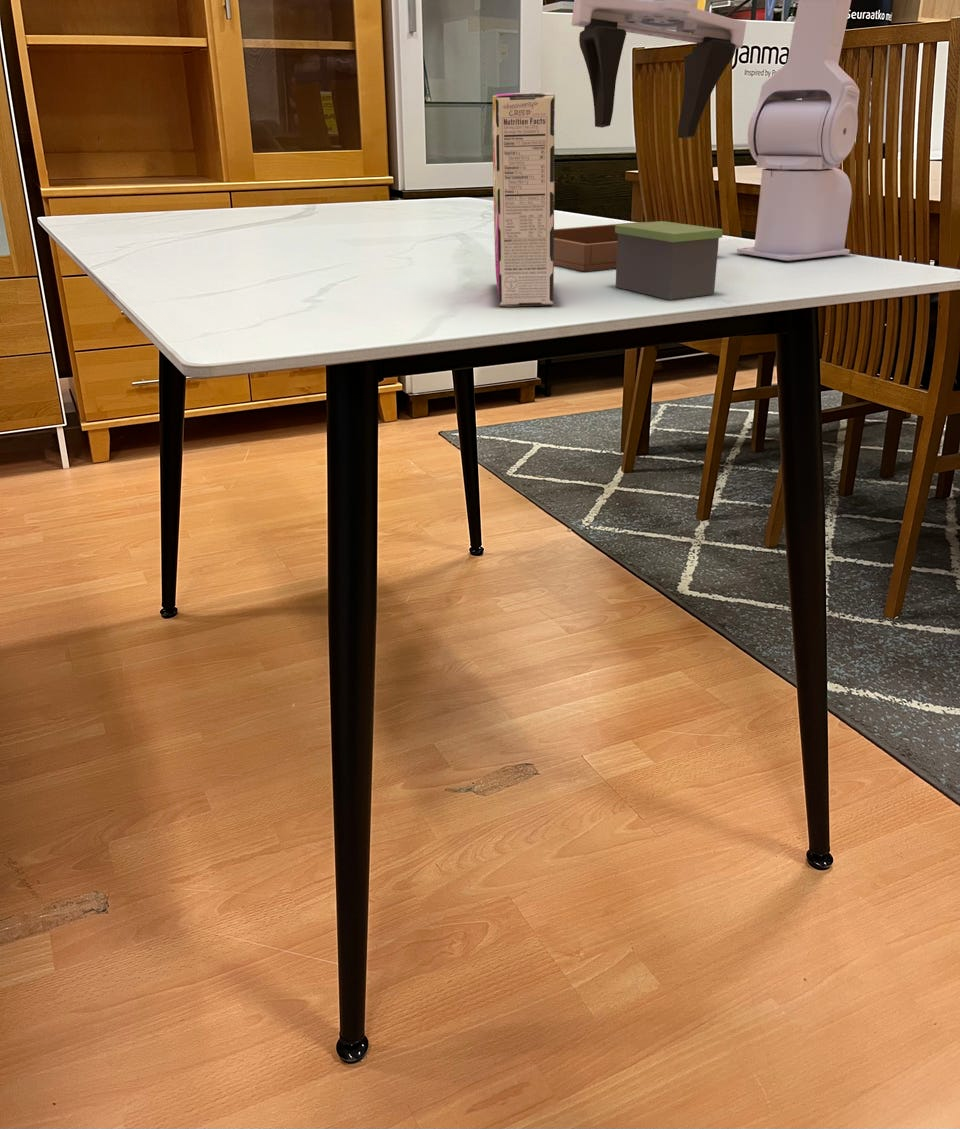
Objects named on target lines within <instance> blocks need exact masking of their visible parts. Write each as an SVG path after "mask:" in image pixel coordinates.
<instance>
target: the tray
mask: <svg viewBox="0 0 960 1129" xmlns="http://www.w3.org/2000/svg"><path fill="white" fill-rule="evenodd" d="M645 222H646V221H637V222H626V223H625V222H624V223H613V224H602V225H601V224H600V225H589V226H577V227H564V228H554V266H558V267H560V268H561V267H562V268H566V269H571V270H576V271H579V272H582V273H583V272H584V273H585V272H593V271H604V270H613V269H616V265H617V241H618V233H615V225H621V224H633V223H645Z"/></svg>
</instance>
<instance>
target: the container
mask: <svg viewBox="0 0 960 1129" xmlns="http://www.w3.org/2000/svg"><path fill="white" fill-rule="evenodd" d="M644 222H645V223H635V222H632V223H633V224H623V223H620V224H621V225H615V233H618V241H617V265H616V268H615V288H618V289H623V290H627V291H631V292H634V293H639V294H643V295H646V296H647V295H648V296H652V297H655V298H660V299H664V300H667V301H673V300H681V299H688V298H695V297H703V296H710V295H715V288H716V276H717V264H718V253H719V242H720V239H721V238H723V232H724V230H723V228H717V227H709V226H701V225H695V224H694V225H693V224H688V223H687V224H686V223H681V222H680V223H679V222H673V221H672V222H671V221H664V220H659V221H644Z"/></svg>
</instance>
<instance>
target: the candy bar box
mask: <svg viewBox="0 0 960 1129" xmlns="http://www.w3.org/2000/svg"><path fill="white" fill-rule="evenodd" d="M555 105H556V94H555V93H553V92H508V93H506V92H505V93H498V94H494V95H492V184H493V186H492V188H493V190H492V191H493V227H494V228H493V229H494V264H495V265H494V266H495V268H494V269H495V280H496V289H497V296H498V303H499V304H498V305H499V306H500V307H511V308H513V307H514V308H515V307H541V306H542V307H543V306H553V305H554V286H555V285H554V282H555V280H554V278H555V276H554V274H555V273H554V272H555V271H554V269H555V265H554V229H555V115H556V114H555V113H556V112H555V111H556V110H555V108H556V107H555Z"/></svg>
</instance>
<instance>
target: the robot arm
mask: <svg viewBox="0 0 960 1129" xmlns="http://www.w3.org/2000/svg"><path fill="white" fill-rule="evenodd" d="M698 3H699V0H574V1H573V9H572V16H571V26H572V27H577V28H578V27H579V28H583V30H582V31H580V32H579V35H578V36H579V37H578V42H579V48H580V50H581V51H580V52H581V53H582V55H583V59H584V62H585V65H586V70H587V73H588V77H589V82H590V86H591V94H592V101H593V113H594V128H595V127H596V128H606V127H610V126H611V123H612V119H613V115H614V114H613V113H614V105H615V95H616V84H617V78H618V72H619V67H620V61H621V57H622V53H623V50H624V44H625V42H626V38H627V33H631V34H636V35H644V36H649V37H655V38H663V39H668V40H674V41H681V42H687V43H693V44H696V46H692V51H690V52H689V53H686V54H685V55H684V56H683V63H684V69H683V70H684V71H683V72H684V74H683V76H684V78H683V94H682V102H681V108H680V113H679V119H678V126H677V138H678V139H691V138H695V136H696V133H697V129H698V126H699V124H700V121H701V118H702V116H703V113H704V111H705V108H706V106H707V103H708V101H709V99H710V97H711V95H712V93H713V91H714V89H715V87H716V85H717V84H718V82H719V80H720V78H721V76H722V75H723V73H724V72H725V70H726V68H727V67H728V66H729V64H731V61H732V60H733V58H734V56H735V53H736V50H738V49H740V48H743V46H744V39H745V34H746V26H747V21H746V20H739V19H735V18H731V17H727V16H724V15H720V14H717V13H715V12H710V11H707V10H703V9H700V8H698ZM851 3H852V0H798V3H797V9H796V14H795V18H794V24H793V29H792V34H791V38H790V46H789V50H788V56H787V61H786V63H785V64H784V65H783V66H782V67H781V68H780V69H778V70H777V71H776V72H774V74H772V75H771V76H770V77H769V78H768V79H766V80H765V81H764V82H763V83H762V85H761V88H760V92H759V97H758V100H757V103H756V106H755V109H754V111H753V113H752V114H751V117H750V120H749V123H748V126H747V127H748V128H747V145H748V149H749V152H750V155H751V157H752V158H753V159H754V161H755V162H756V168H758V169H759V168H761V178H760V189H759V197H758V198H759V199H758V209H757V219H756V228H755V237H754V238H755V239H754V246H751V247H750V246H747V247H739V248H737V249H736V253H737V254H743V255H749V256H754V257H761V258H766V259H767V258H768V259H772V260H773V259H774V260H779V261H798V260H799V261H800V260H807V259H814V258H822V257H823V258H824V257H833V256H842V255H849V254H850V253H851V249H849V248H845V246H846V239H847V232H848V226H849V218H850V210H851V205H852V197H853V196H852V195H853V191H852V190H853V189H852V184H851V181H850V178H849V176H848V174H846V172H844V171H843V170H842V169H840V166H841V163H843V161H845V160H846V158H847V157H848V156H849V155H850V154H851V152H852V149H853V148H854V146H855V142H856V139H857V134H858V128H859V118H858V110H859V101H860V92H861V91H860V88H859V87H858V85H857V83H856V82H855V80H854V79H853V78H852V77H851V76H850V75H848V73H846V71H844V70H843V68H842V67H841V66H840V65H839V62H840V58H841V52H842V47H843V44H844V39H845V38H844V37H845V33H846V32H845V31H846V27H847V23H848V19H849V14H850V8H851Z"/></svg>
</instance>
